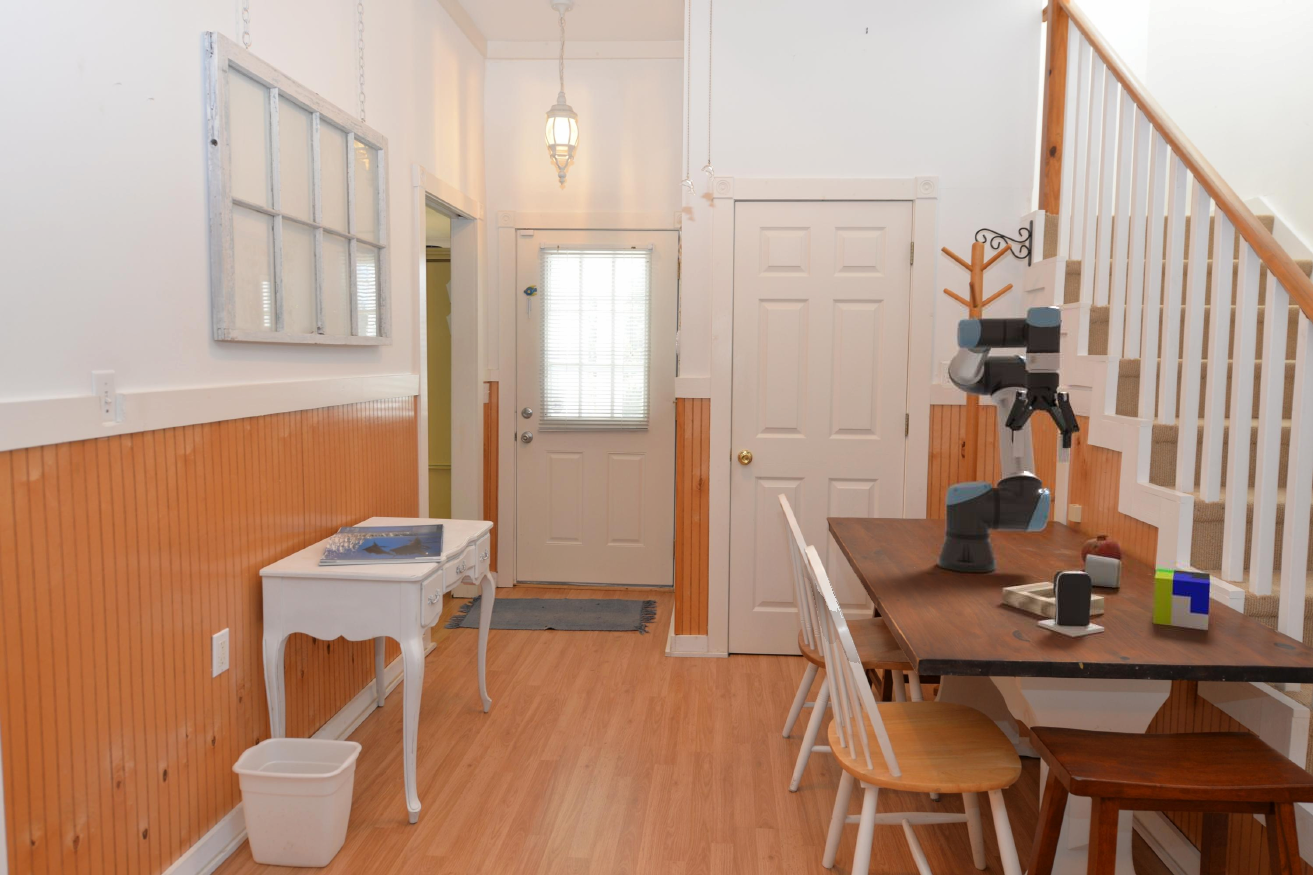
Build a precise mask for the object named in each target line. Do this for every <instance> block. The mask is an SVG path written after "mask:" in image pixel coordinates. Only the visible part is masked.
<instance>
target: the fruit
mask: <svg viewBox="0 0 1313 875" xmlns="http://www.w3.org/2000/svg"><path fill="white" fill-rule="evenodd" d="M1088 554H1089V555H1095V556H1101V557H1107V558H1113V559H1117V560H1120V561H1121V562H1122V558H1123V551H1122V548H1121V546H1120V545H1119V543H1118V542H1117V541H1115V540H1114V539H1112V538H1110V539H1109V536H1108V535H1107V534H1103V535H1096V538H1092V539H1089V540H1087V541H1086V542H1085V543H1084V544H1083V545H1082V548H1081V559H1082V561H1083V563H1084V564H1085V563H1086V557H1087V555H1088Z"/></svg>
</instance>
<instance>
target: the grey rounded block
mask: <svg viewBox="0 0 1313 875" xmlns="http://www.w3.org/2000/svg"><path fill="white" fill-rule="evenodd" d="M1084 572H1085V573H1087V574H1088V575H1089V576H1090V578H1091V587H1092V586H1093V587H1105V588H1110V587H1111V588H1112V589H1114V588H1115V589H1116V588H1120V585H1121V577H1122V560H1121V561H1120V560H1117V559H1113V558H1107V557H1101V556H1095V555H1089V554H1088V555H1087V557H1086V563H1084Z"/></svg>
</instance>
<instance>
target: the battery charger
mask: <svg viewBox="0 0 1313 875" xmlns="http://www.w3.org/2000/svg"><path fill="white" fill-rule="evenodd" d="M1053 584H1054V586H1053V594H1055V601H1056V613H1055V623H1056V624H1057V625H1064V626H1086V625H1090V623H1091V620H1090V618H1091V617H1090V616H1091V615H1090V604H1091V594H1092V585H1091V578H1090V576H1089V575H1088V574H1087V573H1085V571H1081V570H1059V571H1057V572H1055V574H1054V577H1053Z"/></svg>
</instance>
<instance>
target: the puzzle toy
mask: <svg viewBox="0 0 1313 875" xmlns="http://www.w3.org/2000/svg"><path fill="white" fill-rule="evenodd" d="M1210 587H1211V574H1210V573H1207V572H1199V571H1198V572H1196V571H1186V570H1178V569H1177V570H1176V569H1169V568H1167V569H1166V568H1156V572H1155V576H1154V588H1153V589H1154V590H1153V591H1154V592H1153V594H1154V596H1153V614H1152V616H1153V618H1152V619H1153V620H1152V623H1153V624H1158V625H1166V626H1174V627H1180V628H1182V627H1183V628H1189V629H1197V630H1202V631H1203V630H1205V631H1208V630H1209V617H1210V616H1209V612H1210V592H1211V591H1210V589H1211V588H1210Z"/></svg>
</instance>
